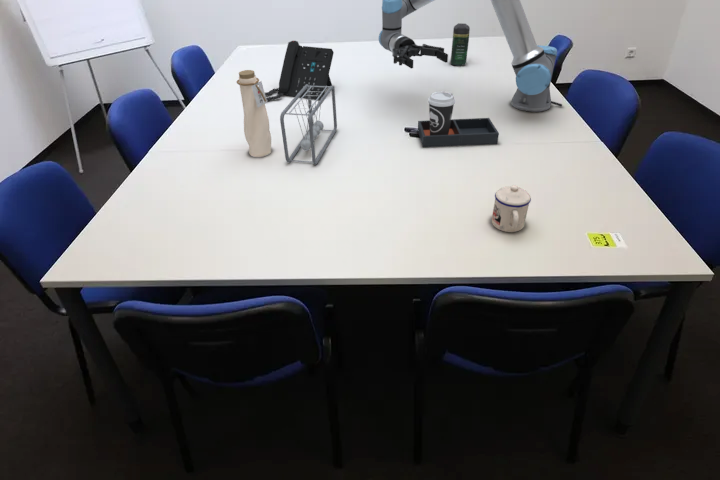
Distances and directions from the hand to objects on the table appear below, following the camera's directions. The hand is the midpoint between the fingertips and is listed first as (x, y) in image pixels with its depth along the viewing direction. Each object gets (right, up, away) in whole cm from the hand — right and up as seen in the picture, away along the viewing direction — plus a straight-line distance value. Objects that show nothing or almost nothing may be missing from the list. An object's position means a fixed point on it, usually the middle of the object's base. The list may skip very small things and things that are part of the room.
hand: (429, 61), depth 164 cm
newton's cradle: (-41, -28, +6) cm, 50 cm away
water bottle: (-59, -31, +3) cm, 67 cm away
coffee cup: (+4, -24, +7) cm, 26 cm away
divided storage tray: (+11, -25, +8) cm, 28 cm away
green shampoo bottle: (+26, +27, +76) cm, 85 cm away
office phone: (-54, +3, +48) cm, 72 cm away
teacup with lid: (+16, -59, -37) cm, 71 cm away
